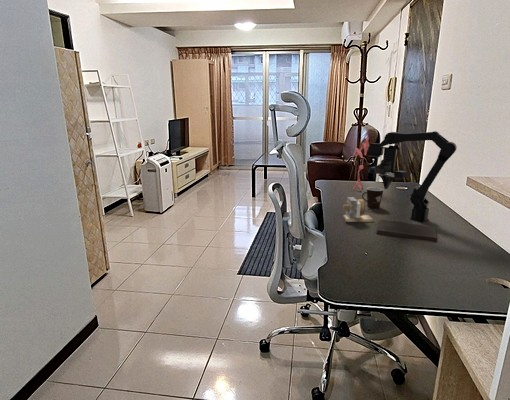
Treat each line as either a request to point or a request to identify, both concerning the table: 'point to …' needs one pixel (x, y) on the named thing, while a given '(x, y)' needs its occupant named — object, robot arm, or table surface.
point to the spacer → (358, 210)
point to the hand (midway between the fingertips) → (385, 189)
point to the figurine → (362, 161)
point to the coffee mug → (373, 197)
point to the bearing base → (362, 219)
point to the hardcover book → (407, 230)
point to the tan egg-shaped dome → (362, 209)
